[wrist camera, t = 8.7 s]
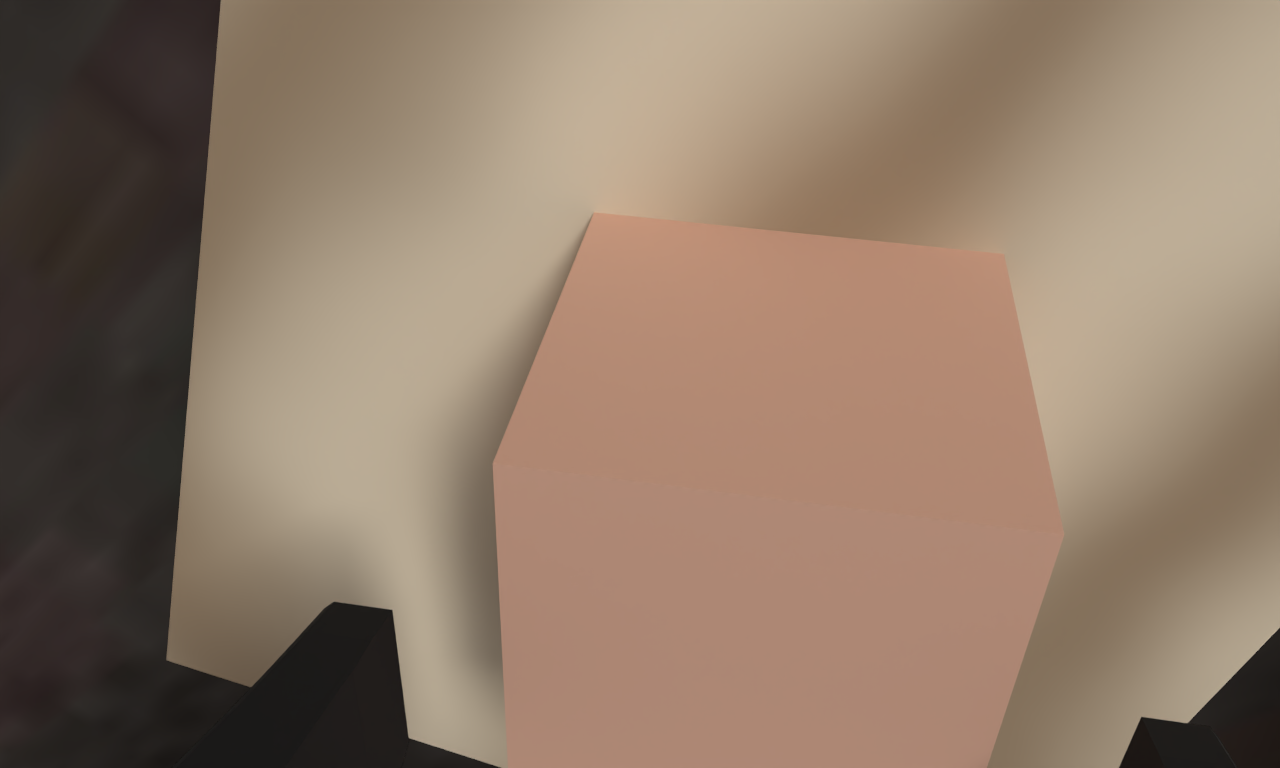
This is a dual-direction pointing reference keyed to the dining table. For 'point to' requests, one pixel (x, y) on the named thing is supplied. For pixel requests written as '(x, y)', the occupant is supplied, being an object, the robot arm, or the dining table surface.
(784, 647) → the terracotta cube
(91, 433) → the dining table surface
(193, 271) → the dining table surface
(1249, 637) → the maple board
